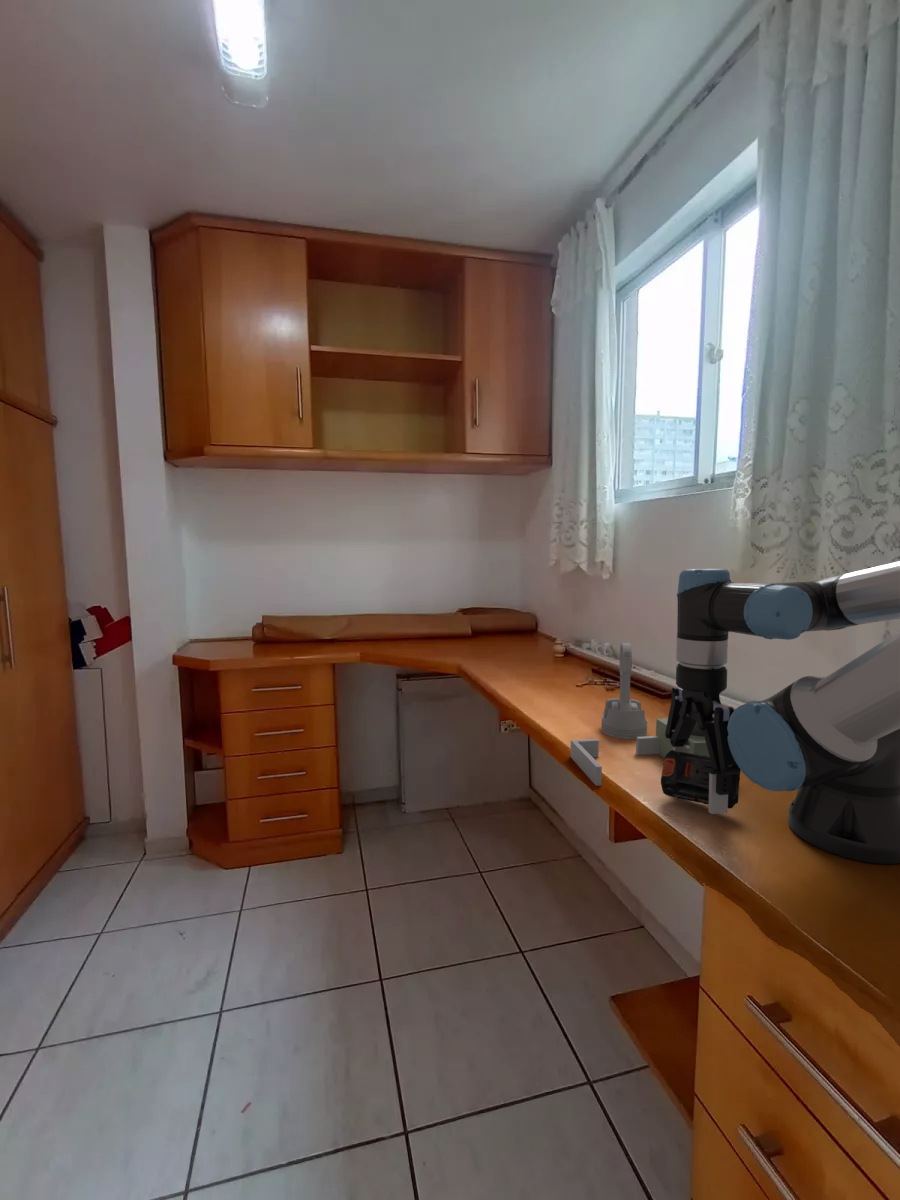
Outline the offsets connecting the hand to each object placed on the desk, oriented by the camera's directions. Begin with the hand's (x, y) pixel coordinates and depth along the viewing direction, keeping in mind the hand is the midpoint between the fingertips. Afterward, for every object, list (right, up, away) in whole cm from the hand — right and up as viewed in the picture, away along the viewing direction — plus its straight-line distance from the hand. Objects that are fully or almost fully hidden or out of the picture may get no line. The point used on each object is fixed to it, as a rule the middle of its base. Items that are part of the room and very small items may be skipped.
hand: (698, 797), depth 91 cm
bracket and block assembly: (-2, 0, +17) cm, 17 cm away
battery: (0, -1, 0) cm, 1 cm away
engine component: (-1, +2, +37) cm, 37 cm away
